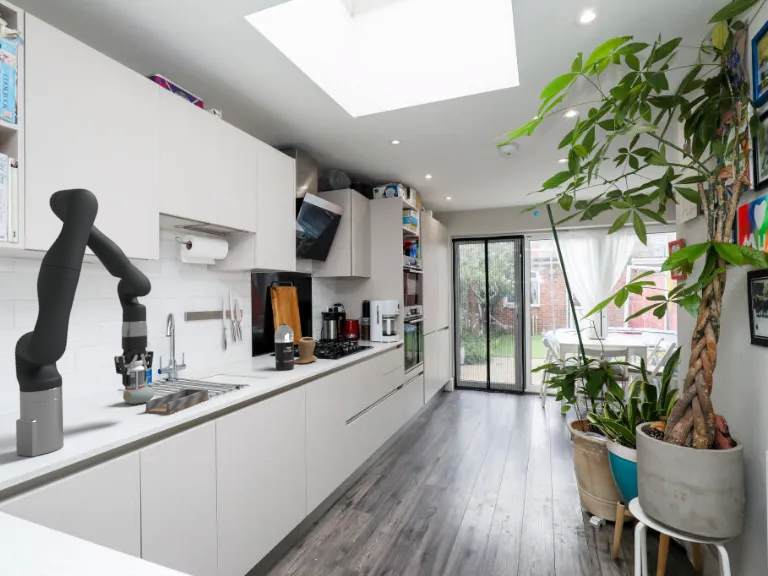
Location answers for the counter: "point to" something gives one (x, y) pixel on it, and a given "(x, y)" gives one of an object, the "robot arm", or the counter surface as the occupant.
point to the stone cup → (306, 350)
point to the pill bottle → (136, 377)
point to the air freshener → (139, 395)
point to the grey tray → (176, 401)
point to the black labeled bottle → (284, 348)
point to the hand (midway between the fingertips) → (134, 383)
